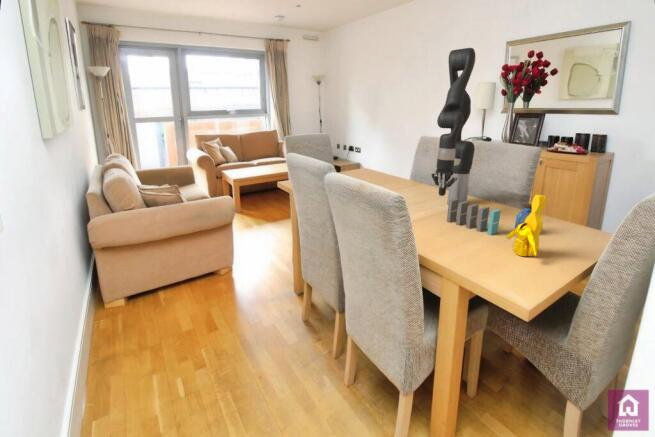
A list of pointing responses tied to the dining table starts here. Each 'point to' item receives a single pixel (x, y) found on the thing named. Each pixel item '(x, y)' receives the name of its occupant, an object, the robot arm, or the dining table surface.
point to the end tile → (493, 222)
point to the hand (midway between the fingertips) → (441, 195)
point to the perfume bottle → (523, 214)
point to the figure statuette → (529, 230)
